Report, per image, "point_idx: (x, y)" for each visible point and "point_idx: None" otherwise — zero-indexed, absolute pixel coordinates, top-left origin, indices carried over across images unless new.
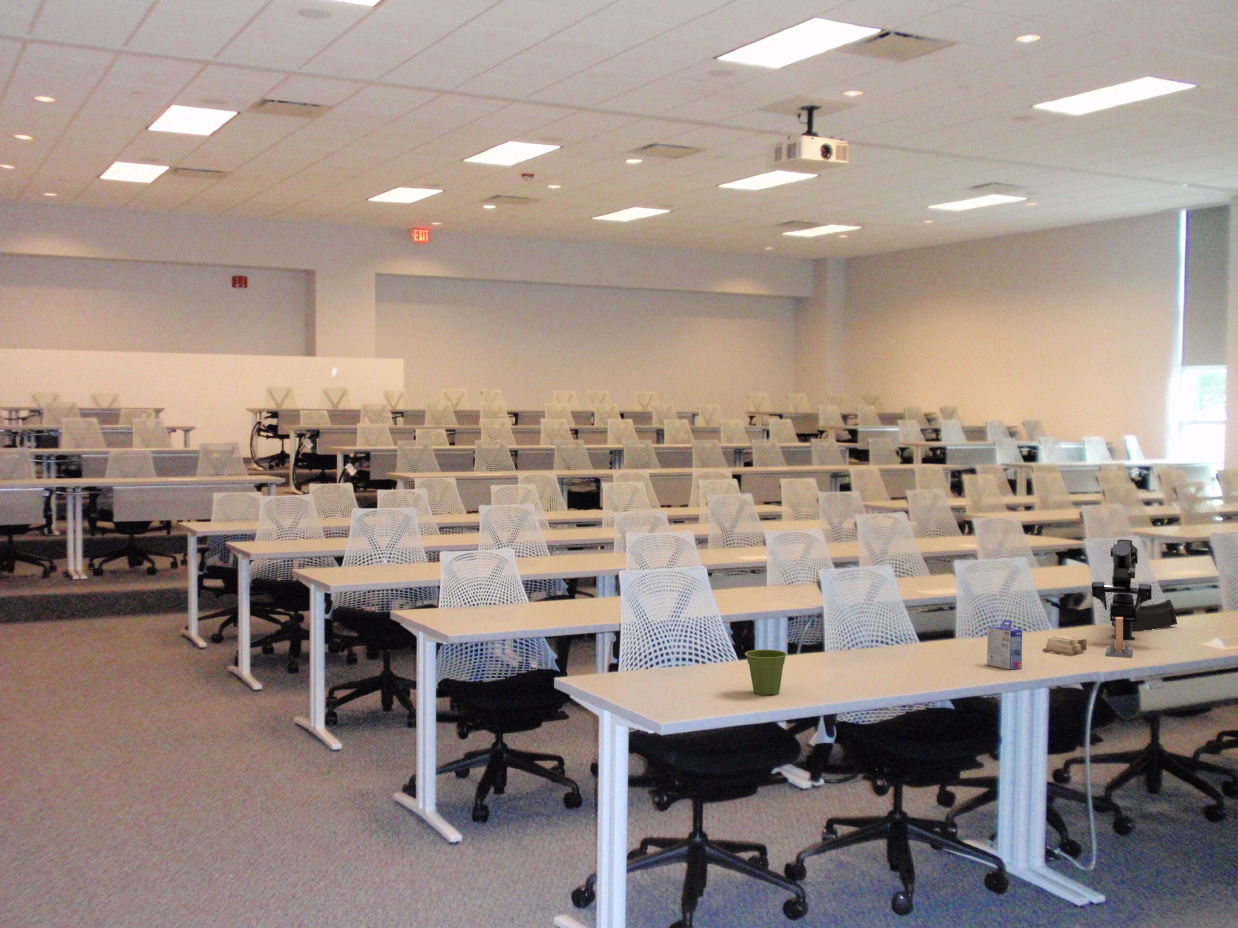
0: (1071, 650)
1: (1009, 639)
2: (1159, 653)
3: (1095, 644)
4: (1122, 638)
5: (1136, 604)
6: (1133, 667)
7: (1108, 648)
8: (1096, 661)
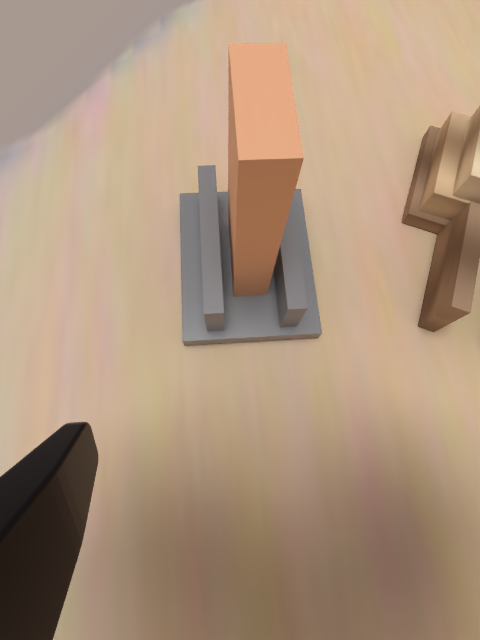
0: (439, 135)
1: None
2: (44, 387)
3: (427, 543)
4: (230, 200)
5: (5, 500)
6: (167, 29)
7: (310, 314)
8: (306, 76)
